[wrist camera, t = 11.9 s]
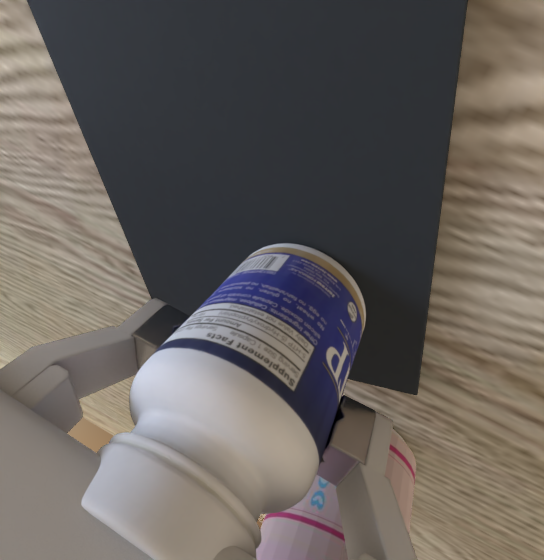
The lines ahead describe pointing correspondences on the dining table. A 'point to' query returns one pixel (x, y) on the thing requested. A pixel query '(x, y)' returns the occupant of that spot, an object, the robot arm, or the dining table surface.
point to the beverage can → (330, 514)
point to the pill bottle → (233, 409)
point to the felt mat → (272, 142)
